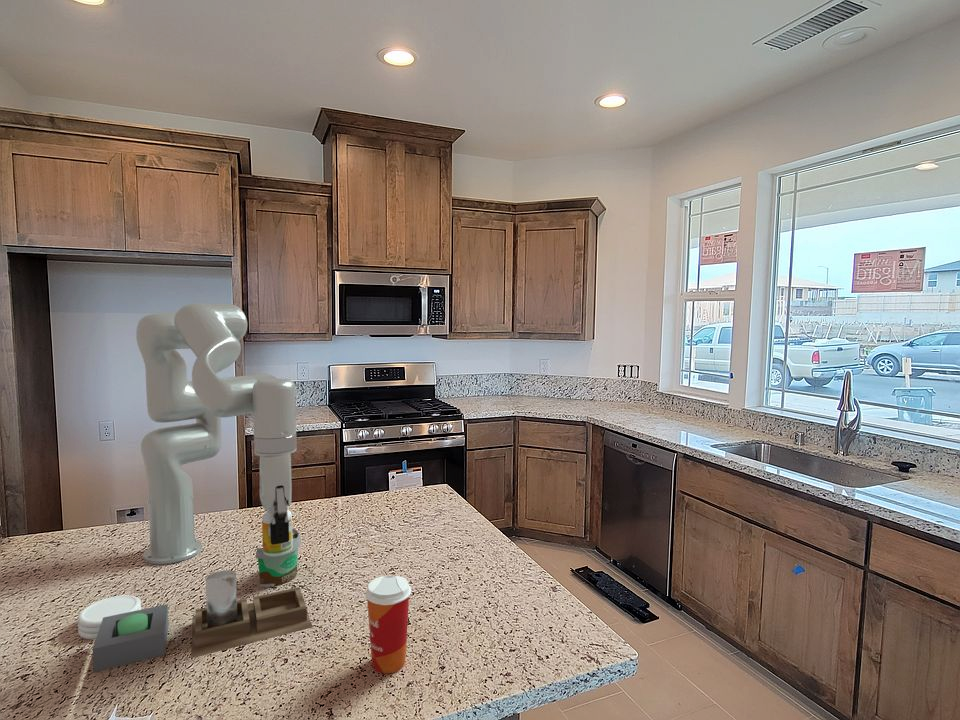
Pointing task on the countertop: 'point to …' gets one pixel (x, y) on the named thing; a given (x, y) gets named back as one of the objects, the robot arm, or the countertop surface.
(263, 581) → the food container
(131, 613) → the gray square holder
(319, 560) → the countertop surface
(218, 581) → the billet
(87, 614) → the round white lidded container
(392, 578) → the paper cup
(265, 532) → the supplement bottle
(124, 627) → the button
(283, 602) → the double slot desk organizer
